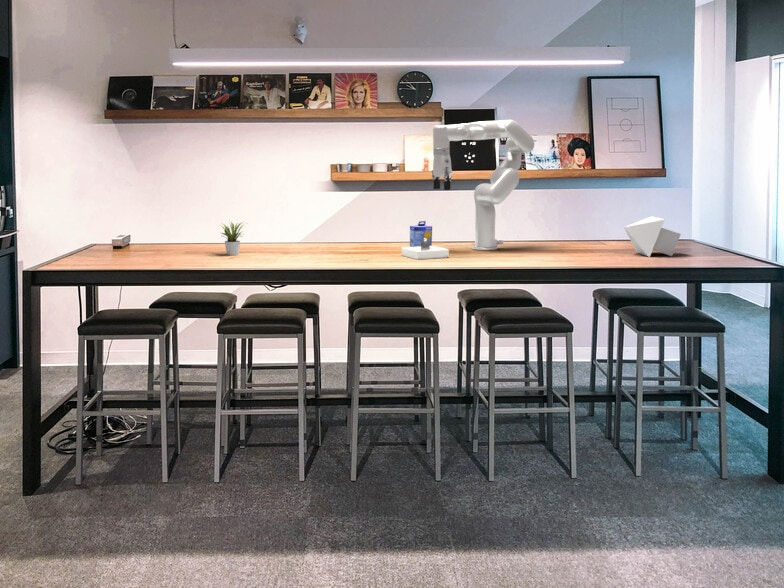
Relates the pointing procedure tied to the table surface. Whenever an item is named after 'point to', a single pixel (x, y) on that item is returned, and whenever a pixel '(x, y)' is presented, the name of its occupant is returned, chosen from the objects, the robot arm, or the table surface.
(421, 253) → the flat white box
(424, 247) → the battery cell
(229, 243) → the house plant
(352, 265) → the table surface
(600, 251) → the table surface
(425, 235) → the ink cartridge box
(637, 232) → the pyramid on cube
